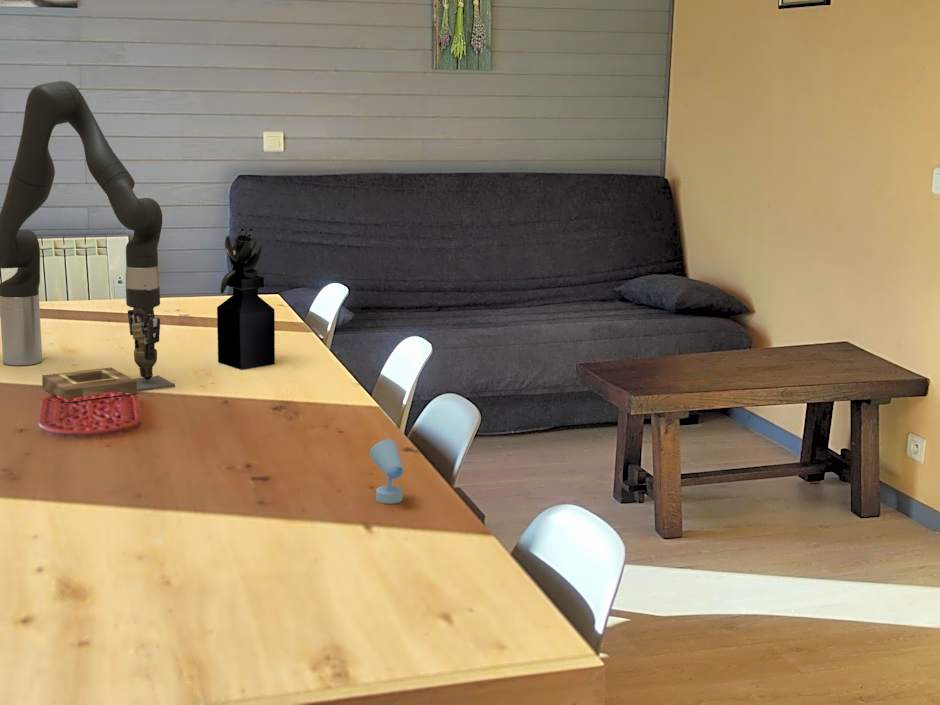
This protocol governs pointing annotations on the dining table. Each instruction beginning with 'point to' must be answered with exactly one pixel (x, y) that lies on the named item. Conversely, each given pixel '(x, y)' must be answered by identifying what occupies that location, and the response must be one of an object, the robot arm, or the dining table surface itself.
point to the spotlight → (388, 470)
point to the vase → (245, 312)
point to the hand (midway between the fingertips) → (145, 356)
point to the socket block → (88, 383)
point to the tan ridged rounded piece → (142, 353)
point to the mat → (153, 383)
